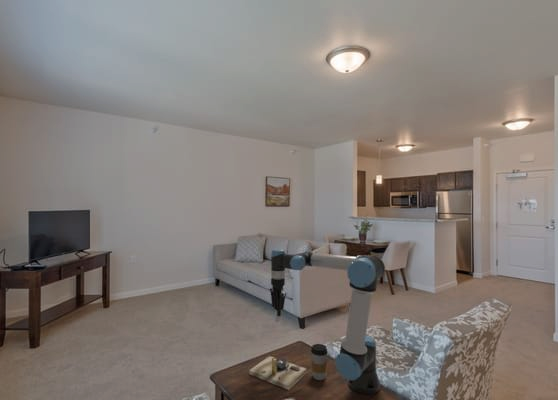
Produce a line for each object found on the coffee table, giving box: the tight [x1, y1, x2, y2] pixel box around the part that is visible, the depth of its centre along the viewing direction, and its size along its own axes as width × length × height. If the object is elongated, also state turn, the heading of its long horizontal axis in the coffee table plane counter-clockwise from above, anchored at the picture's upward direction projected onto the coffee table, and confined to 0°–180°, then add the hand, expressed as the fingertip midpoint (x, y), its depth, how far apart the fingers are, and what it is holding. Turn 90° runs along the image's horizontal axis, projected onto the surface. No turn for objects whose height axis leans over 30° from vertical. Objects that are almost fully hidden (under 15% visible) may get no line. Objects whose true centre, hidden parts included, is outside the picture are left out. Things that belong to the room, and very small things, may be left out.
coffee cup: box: [310, 343, 328, 381], centre depth 150 cm, size 8×8×15 cm
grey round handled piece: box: [272, 357, 289, 375], centre depth 153 cm, size 14×9×7 cm, turn 153°
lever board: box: [248, 355, 308, 391], centre depth 153 cm, size 24×18×4 cm
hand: (277, 321), depth 160 cm, fingers closed
